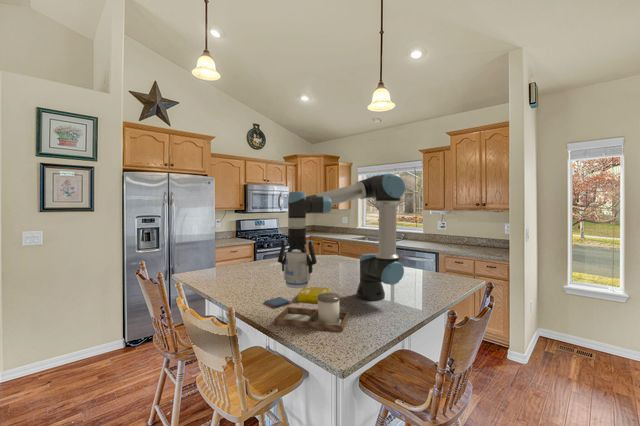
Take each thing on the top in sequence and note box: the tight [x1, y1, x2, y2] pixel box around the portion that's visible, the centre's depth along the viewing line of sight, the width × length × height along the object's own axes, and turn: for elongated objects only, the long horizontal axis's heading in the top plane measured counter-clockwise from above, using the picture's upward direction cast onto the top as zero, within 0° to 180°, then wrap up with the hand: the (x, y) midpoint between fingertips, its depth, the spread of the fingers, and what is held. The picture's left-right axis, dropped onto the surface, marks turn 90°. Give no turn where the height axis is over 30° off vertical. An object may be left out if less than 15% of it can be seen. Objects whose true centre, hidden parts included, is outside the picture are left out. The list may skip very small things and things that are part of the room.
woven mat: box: [263, 296, 292, 309], centre depth 151 cm, size 10×11×2 cm
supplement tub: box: [285, 249, 309, 289], centre depth 129 cm, size 10×10×15 cm
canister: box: [317, 292, 341, 324], centre depth 125 cm, size 9×9×11 cm
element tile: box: [297, 286, 331, 305], centre depth 159 cm, size 15×15×5 cm
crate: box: [274, 306, 350, 332], centre depth 127 cm, size 28×15×3 cm, turn 75°
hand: (297, 279), depth 129 cm, fingers closed on supplement tub, 9 cm apart
